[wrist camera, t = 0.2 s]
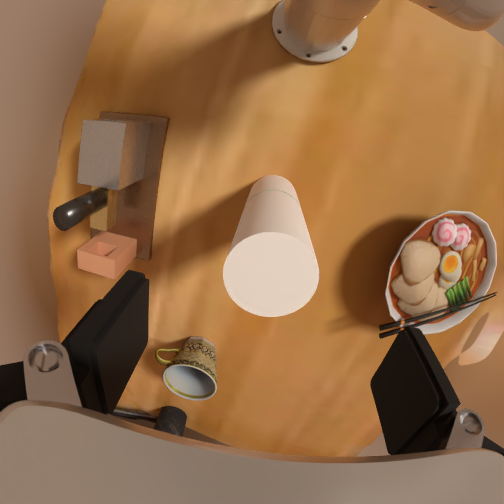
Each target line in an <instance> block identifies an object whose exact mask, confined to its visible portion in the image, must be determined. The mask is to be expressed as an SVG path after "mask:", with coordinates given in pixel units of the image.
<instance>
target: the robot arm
mask: <svg viewBox="0 0 504 504" xmlns="http://www.w3.org/2000/svg"><path fill="white" fill-rule="evenodd" d="M379 1H380V0H282V1H281V2H280V3H279V4H278V5H277V7H276V8H275V11H274V13H273V18H272V27H273V32H274V35H275V37H276V39H277V40H278V42H279V43H280V45H281V46H282V47H283V48H284V49H285V50H286V51H288V52H289V53H291V54H292V55H293V56H296V57H298V58H300V59H302V60H306V61H309V62H316V63H325V62H331V61H334V60H337V59H340V58H341V57H343V56H345V55H346V54H347V53H348V52H349V51H350V50H351V49H352V48H353V46H354V45H355V43H356V40H357V36H358V25H359V24H360V23H361V22H362V21H363V20H364V18H365V17H366V16H367V15H368V14H369V13H370V12H371V11H372V9H373V8H374V7H375V6H376V5H377V4H378V2H379ZM409 1H411V2H413V3H415V4H417V5H419V6H421V7H423V8H425V9H427V10H429V11H430V12H432V13H434V14H436V15H438V16H440V17H441V18H443V19H445V20H447V21H448V22H450V23H452V24H454V25H456V26H458V27H460V28H463V29H466V30H470V31H482V30H485V29H488V28H490V27H492V26H493V25H495V24H496V23H497V22H499V21H500V20H501V18H502V17H503V16H504V0H409ZM278 32H281V34H278ZM342 48H343V49H344V50H345V51H343V50H342ZM306 55H309V56H310V57H307V56H306ZM148 307H149V279H146V278H145V275H144V274H143V273H139V272H136V271H132V270H128V271H127V272H126V273H125V274H124V275H123V276H122V277H121V279H120V280H119V281H118V282H117V283H116V284H115V285H114V286H113V288H112V289H111V290H110V291H109V292H108V293H107V294H106V296H105V297H104V298H103V299H102V300H101V299H100V300H98V301H97V302H95V304H94V305H93V306H92V307H91V308H90V309H89V311H88V312H87V313H86V314H85V315H84V316H83V318H82V319H81V320H80V321H79V322H78V324H77V325H76V326H75V327H74V328H73V330H72V331H71V332H70V333H69V334H68V336H67V337H66V338H65V339H64V341H63V342H62V343H61V344H59V343H58V342H55V341H50V340H49V341H48V340H45V341H40V342H36V343H34V344H33V345H31V346H30V347H29V348H28V349H27V350H26V352H25V354H24V359H23V361H21V362H17V363H11V364H6V365H1V366H0V504H504V449H503V448H502V447H500V446H499V445H497V444H496V443H494V442H493V441H491V440H489V439H488V438H486V437H485V436H484V432H485V431H484V430H485V426H484V422H483V420H482V418H481V417H480V416H479V415H478V414H477V413H476V412H475V411H473V410H471V409H466V408H464V409H461V410H460V411H458V412H457V411H456V408H457V407H458V406H459V405H460V402H459V399H458V397H457V395H456V393H455V391H454V389H453V387H452V385H451V383H450V381H449V380H448V378H447V376H446V374H445V372H444V370H443V368H442V366H441V364H440V363H439V361H438V359H437V357H436V355H435V354H434V352H433V350H432V348H431V346H430V345H429V343H428V341H427V339H426V338H425V336H424V334H423V333H422V331H421V330H420V329H419V328H414V327H405V328H404V329H403V330H401V331H400V332H399V333H398V335H397V337H396V339H395V340H394V342H393V344H392V346H391V348H390V349H389V351H388V353H387V354H386V356H385V358H384V359H383V361H382V363H381V364H380V366H379V368H378V369H377V371H376V372H375V374H374V376H373V377H372V379H371V390H372V393H373V397H374V400H375V404H376V408H377V411H378V415H379V419H380V423H381V426H382V430H383V434H384V438H385V442H386V446H387V450H388V453H389V454H390V455H387V456H368V457H324V456H303V455H289V454H279V453H269V452H261V451H253V450H246V449H240V448H234V447H227V446H222V445H216V444H211V443H207V442H202V441H198V440H193V439H189V438H184V437H181V436H177V435H173V434H169V433H165V432H161V431H158V430H154V429H150V428H147V427H144V426H140V425H137V424H134V423H130V422H127V421H124V420H121V419H119V418H115V417H112V416H109V415H107V413H110V414H112V413H113V411H114V409H115V407H116V405H117V403H118V401H119V399H120V397H121V395H122V393H123V391H124V389H125V387H126V385H127V383H128V381H129V379H130V377H131V375H132V373H133V371H134V369H135V367H136V365H137V363H138V361H139V359H140V357H141V355H142V353H143V351H144V349H145V348H146V345H147V342H148Z"/></svg>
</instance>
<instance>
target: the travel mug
mask: <svg viewBox="0 0 504 504" xmlns="http://www.w3.org/2000/svg"><path fill="white" fill-rule="evenodd" d="M186 419H187V415H186V414H185V412H183V411H182V410H181V409H179V408H176V407H172V406H165V407H163V408H162V409H161V411H160V414H159V416H158V419H157V421H156V424H155V427H154V430H158V431H161V432H165V433H169V434H173V435H177V436H181V437H183V432H184V428H185V424H186Z"/></svg>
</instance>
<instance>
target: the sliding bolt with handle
mask: <svg viewBox="0 0 504 504" xmlns="http://www.w3.org/2000/svg"><path fill="white" fill-rule="evenodd" d="M110 122H112V121H110ZM117 196H118V191H117V190H112V189H107V188H102V187H96V186H91V191H90V192H88V193H86V194H84V195H82V196H79V197H77V198H75V199H73V200H71V201H69V202H67V203H65V204H63V205H61V206H59V207H57V208H56V209H55V210H54V213H53V220H54V223H55V225H56V226H57V227H58V228H59V229H60V230H62V231H66V230H68V229H70V228H71V227H73V226H74V225H76V224H78V223H79V222H81V221H83V220H84V219H86V218H88V217H89V216H90V228H94V229H98V230H102V231H108V230H109V229H111V228H112V227H113V226H115V225H116V210H117Z"/></svg>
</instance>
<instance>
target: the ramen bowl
mask: <svg viewBox="0 0 504 504" xmlns="http://www.w3.org/2000/svg"><path fill="white" fill-rule="evenodd" d="M496 265H497V255H496V241H495V239H494V237H493V234H492V232H491V230H490V228H489V225H488V223H486V222H485V221H484V220H482V219H481V218H479V217H478V216H477V215H475V214H474V213H472V212H466V211H453V210H449V211H446V212H443V213H441V214H439V215H437V216H434V217H432V218H430V219H428V220H425V221H423V222H422V223H421V224H420V225H419V226H418V227H417V228H416V229H415V230H414V231H413V232H411V233H410V234H409V235H408V236H407V237H406V238H405V239H404V240H403V242H402V244H401V246H400V248H399V249H398V251H397V253H396V255H395V257H394V259H393V261H392V262H391V265H390V270H389V276H388V281H387V286H386V291H385V296H386V301H387V305H388V309H389V313H390V316H391V317H392V318H393V319H394V320H395V322H392V323H388V324H383V325H379V329H380V331H381V330H384V329H388V328H392V327H396V326H400V327H401V328H398V329H394V330H391V331H387V332H384V333H380V334H379V337H380V339H381V338H384V337H387V336H391V335H394V334H397V333H399V332H400V331H401V330H403V329H404V328H405V327H414V328H419V329H420V330H421V331H422V333H423V334H424V335H426V334H435V333H441V332H443V331H445V330H447V329H449V328H451V327H453V326H455V325H457V324H459V323H461V322H462V321H463V320H464V319H465V318H466V317H467V316H468V315H469V314H471V313H472V312H473V311H474V310H475V309H476V308H477V307H478V305H479V304H480V302H483V301H485V300H487V299H489V298H492V297H494V296H496V295H494V296H491V297H489V298H486V299H484V300H482V299H483V298H485V297H488V296H490V295H493V294H495V293H497V292H495V293H492V294H489V295H486V296H485V294H486V293H487V291H488V289H489V288H490V285H491V282H492V279H493V276H494V272H495V269H496Z"/></svg>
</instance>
